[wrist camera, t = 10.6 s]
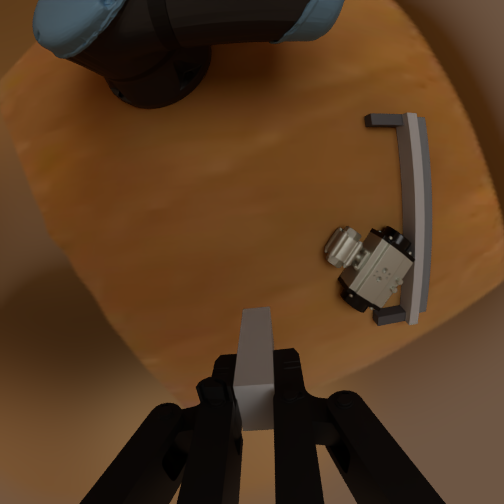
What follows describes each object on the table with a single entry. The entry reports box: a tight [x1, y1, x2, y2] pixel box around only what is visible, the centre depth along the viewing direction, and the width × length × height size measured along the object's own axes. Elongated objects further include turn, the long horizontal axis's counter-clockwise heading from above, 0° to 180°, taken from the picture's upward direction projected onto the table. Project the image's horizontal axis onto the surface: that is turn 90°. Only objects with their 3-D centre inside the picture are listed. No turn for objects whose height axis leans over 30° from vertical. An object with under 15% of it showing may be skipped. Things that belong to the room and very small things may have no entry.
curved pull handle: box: [364, 113, 432, 326], centre depth 37 cm, size 30×10×4 cm, turn 7°
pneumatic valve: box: [324, 226, 415, 313], centre depth 38 cm, size 6×12×12 cm
